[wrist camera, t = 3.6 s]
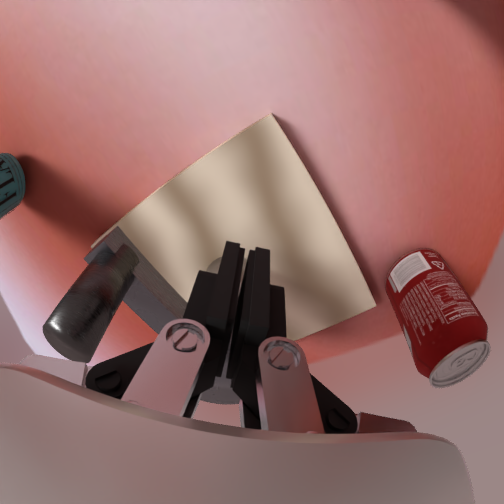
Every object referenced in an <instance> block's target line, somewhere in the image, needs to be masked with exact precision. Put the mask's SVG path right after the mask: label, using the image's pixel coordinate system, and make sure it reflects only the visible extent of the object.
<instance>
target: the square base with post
mask: <svg viewBox="0 0 504 504" xmlns="http://www.w3.org/2000/svg"><path fill="white" fill-rule="evenodd" d="M117 226H119V228H120V229H121V230H122V231H123V232H124V233H125V235H126V236H127V237H128V238H129V239H130V240H131V242H132V243H133V244H134V245H135V246H136V247H137V249H138V250H139V251H140V252H141V253H142V254H143V255H144V257H145V258H146V259H147V260H148V261H149V262H150V263H151V264H152V265H153V267H154V268H155V269H156V270H157V271H158V272H159V273H160V274H161V275H162V276H163V278H164V279H165V280H166V281H167V282H168V283H169V284H170V285H171V286H172V287H173V288H174V289H175V290H176V291H177V292H178V294H179V295H180V296H181V297H182V298H183V299H184V300H185V301H186V302H187V303H188V300H189V297H190V294H191V291H192V289H193V286H194V283H195V280H196V277H197V274H198V272H199V270H202V271H207V272H211V273H216V274H218V270H219V267H220V263H221V259H222V255H223V251H224V248H225V244H226V241H230V242H235V243H240V247H241V248H245V254H244V261H243V267H242V274H241V281H240V287H241V283H242V279H243V275H244V271H245V266H246V262H247V258H248V254H249V250H255V248H256V247H260V248H264V249H269V250H270V284H271V285H276V286H281V287H284V290H285V309H286V333H287V338H288V339H291V340H293V341H295V340H298V339H300V338H303V337H305V336H308V335H311V334H313V333H316V332H318V331H320V330H323V329H325V328H328V327H330V326H332V325H335V324H337V323H340V322H342V321H344V320H346V319H349V318H351V317H353V316H356V315H358V314H360V313H362V312H364V311H367V310H369V309H371V308H373V307H375V306H376V303H375V301H374V298H373V296H372V293H371V291H370V289H369V287H368V285H367V282H366V280H365V278H364V276H363V274H362V272H361V270H360V268H359V266H358V263H357V261H356V259H355V257H354V255H353V253H352V251H351V249H350V247H349V245H348V243H347V241H346V239H345V237H344V235H343V234H342V232H341V230H340V228H339V226H338V224H337V222H336V220H335V218H334V216H333V215H332V213H331V211H330V209H329V207H328V205H327V204H326V202H325V200H324V198H323V196H322V195H321V193H320V191H319V189H318V187H317V186H316V184H315V182H314V181H313V179H312V177H311V175H310V174H309V172H308V170H307V169H306V167H305V165H304V164H303V162H302V160H301V159H300V157H299V155H298V154H297V152H296V150H295V149H294V147H293V145H292V144H291V142H290V141H289V139H288V137H287V136H286V134H285V133H284V131H283V130H282V128H281V127H280V125H279V123H278V122H277V120H276V119H275V117H274V116H273V114H272V113H270V114H269V115H267V116H265V117H264V118H262V119H260V120H259V121H257V122H255V123H254V124H252V125H250V126H249V127H247V128H245V129H244V130H242V131H241V132H239V133H237V134H236V135H234V136H233V137H231V138H230V139H228V140H227V141H225V142H223V143H222V144H220V145H219V146H217V147H216V148H214V149H213V150H211V151H210V152H208V153H207V154H206V155H204V156H203V157H201V158H200V159H198V160H197V161H195V162H194V163H193V164H191V165H190V166H188V167H187V168H186V169H184V170H183V171H181V172H180V173H179V174H177V175H176V176H175V177H173V178H172V179H170V180H169V181H168V182H166V183H165V184H164V185H162V186H161V187H160V188H159V189H157V190H156V191H155V192H153V193H152V194H151V195H149V196H148V197H147V198H146V199H144V200H143V201H142V202H141V203H139V204H138V205H137V206H136V207H134V208H133V209H132V210H131V211H129V212H128V213H127V214H126V215H125V216H123V217H122V218H121V219H120V220H119V221H117V222H116V223H115V224H114V225H113V226H112V227H110V228H109V229H108V230H107V231H106V232H105V233H104V234H102V235H101V236H100V237H99V238H98V239H97V240H96V241H95V242H94V243H93V244H92V245H91V248H93V247H94V246H95V245H96V244H97V243H98V242H99V241H100V240H101V239H102V238H104V237H105V236H106V235H107V234H108V233H109V232H111V231H112V230H113V229H114V228H115V227H117ZM239 292H240V288H239ZM238 296H239V295H238Z"/></svg>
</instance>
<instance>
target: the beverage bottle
mask: <svg viewBox="0 0 504 504" xmlns="http://www.w3.org/2000/svg"><path fill="white" fill-rule="evenodd" d="M24 194H25V177H24V173H23V170H22V168H21V165H20V164H19V162H18V160H17V159H16V158H15V157H14V156H13V155H11V154H9V153H1V154H0V219H2V218H1V217H3V216H5V215H7V213H8V212H10V211H12V209H14V208H15V207H17V206H18V205H19V203H20V202H21V201H22V199H23V197H24Z"/></svg>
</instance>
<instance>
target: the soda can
mask: <svg viewBox="0 0 504 504" xmlns="http://www.w3.org/2000/svg"><path fill="white" fill-rule="evenodd" d="M385 289H386V292H387V295H388V297H389V299H390V302H391V304H392V306H393V309H394V311H395V313H396V316H397V318H398V321H399V323H400V326H401V328H402V331H403V333H404V336H405V338H406V341H407V343H408V346H409V348H410V351H411V354H412V357H413V359H414V362H415V365H416V368H417V370H418V372H420V373H421V374H422V375H424V376H425V377H427V378H429V381H430V384H431V385H432V386H433V387H435V388H445V387H449V386H452V385H454V384H457V383H459V382H461V381H463V380H464V379H466V378H467V377H469V376H470V375H472V374H473V373H474V372H475V371H476V370H477V369H479V368H480V367H481V365H482V364H483V363H484V362H485V361H486V359H487V357H488V355H489V353H490V344H489V343H488V341H487V333H488V327H487V324H486V322H485V320H484V319H483V317H482V315H481V314H480V312H479V311H478V309H477V307H476V306H475V304H474V303H473V301H472V300H471V298H470V297H469V295H468V294H467V292H466V291H465V289H464V288H463V286H462V285H461V283H460V282H459V281H458V279H457V278H456V276H455V275H454V274H453V272H452V271H451V270H450V268H449V267H448V265H447V264H446V263H445V261H444V260H443V259H442V258H441V256H440V255H439V254H438V253H437V252H436V251H434V250H431V249H427V248H421V249H416V250H413V251H410V252H408V253H406V254H405V255H403V256H402V257H401V258H399V259H398V260H397V261H396V262H395V263H394V265H393V266H392V267H391V269H390V270H389V272H388V274H387V277H386V282H385Z"/></svg>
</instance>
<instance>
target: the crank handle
mask: <svg viewBox="0 0 504 504" xmlns="http://www.w3.org/2000/svg"><path fill="white" fill-rule="evenodd" d="M84 260H85V261H86V262H87V263H88V264H89V265H88V266H87V267H86V268H85V270H84V271H83V272H82V273H81V275H80V276H79V277H78V279H77V280H76V281H75V282H74V284H73V285H72V286H71V288H70V289H69V290H68V292H67V293H66V294H65V296H64V297H63V298H62V300H61V301H60V302H59V304H58V305H57V307H56V308H55V309H54V311H53V312H52V314H51V315H50V317H49V318H48V319H47V321H46V322H45V324H44V325H43V333H44V336H45V338H46V339H47V341H48V342H49V344H50V345H51V346H52V347H53V348H54V349H55V350H56V351H57V352H59V353H60V354H61V355H63V356H64V357H66V358H68V359H69V360H72V361H76V362H83V363H88V362H90V361H91V359H92V357H93V355H94V353H95V351H96V349H97V347H98V345H99V343H100V341H101V339H102V337H103V335H104V333H105V331H106V329H107V327H108V326H109V324H110V322H111V320H112V318H113V316H114V315H115V313H116V311H117V309H118V307H119V306H120V304H121V302H122V300H123V301H124V302H125V303H126V304H127V305H128V306H129V307H130V308H131V309H132V310H133V311H134V312H135V313H136V314H137V315H138V316H139V317H140V318H141V319H142V320H143V321H145V322H146V323H147V324H148V325H149V326H150V327H151V328H152V329H153V330H154V331H155V332H156V333H158V334H160V332H161V330H162V329H163V327H164V326H165V325H166V324H167V323H169V322H171V321H173V320H177V319H182V318H183V315H184V312H185V309H186V306H187V302H186V301H185V300H184V299H183V298H182V297H181V296H180V295H179V294H178V292H177V291H176V290H175V289H174V288H173V287H172V286H171V285H170V284H169V283H168V282H167V281H166V280H165V279H164V278H163V276H162V275H161V274H160V273H159V272H158V271H157V270H156V269H155V268H154V267H153V265H152V264H151V263H150V262H149V261H148V260H147V259H146V258H145V257H144V255H143V254H142V253H141V252H140V251H139V250H138V249H137V247H136V246H135V245H134V244H133V243H132V242H131V240H130V239H129V238H128V237H127V236H126V235H125V233H124V232H123V231H122V230H121V229H120V228H119V226H117V227H115V228H114V229H113V230H112V231H111V232H109V233H108V234H107V235H106V236H105V237H104V238H102V239H101V240H100V241H99V242H98V243H97V244H96V245H95V246H94V247H93V248H92V250H91V251H90V252H89V253H88V254H87V255H86V257H85V258H84ZM232 331H233V330H232ZM231 338H232V334H231ZM231 338H230V343H229V347H228V351H227V355H226V359H225V363H224V367H223V371H222V376H221V377H215V381H214V386H213V387H212V388H210V389H208V390H206V391H204V392H202V395H201V398H200V400H203V401H206V402H210V403H216V404H239V400H240V398H239V397H238V396H237V395H236V393H235V392H234V391H233V390H232V389H233V388H230V386H231V379H227V378H226V372H227V365H228V358H229V352H230V345H231Z"/></svg>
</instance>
